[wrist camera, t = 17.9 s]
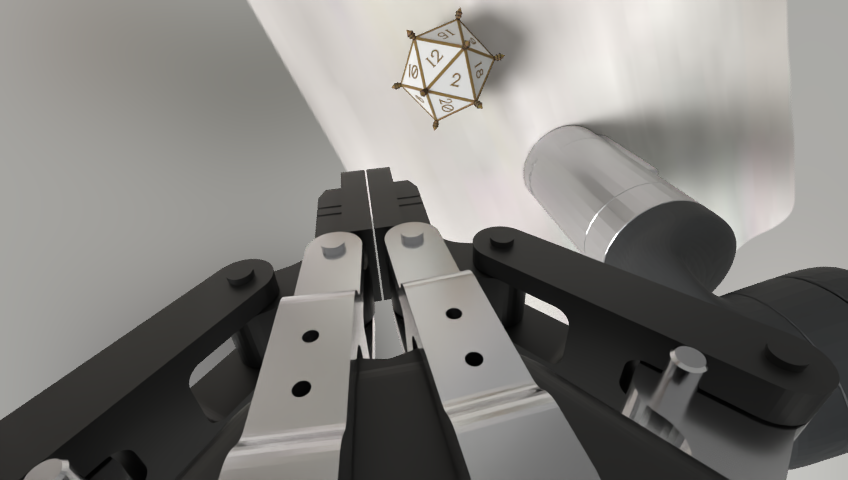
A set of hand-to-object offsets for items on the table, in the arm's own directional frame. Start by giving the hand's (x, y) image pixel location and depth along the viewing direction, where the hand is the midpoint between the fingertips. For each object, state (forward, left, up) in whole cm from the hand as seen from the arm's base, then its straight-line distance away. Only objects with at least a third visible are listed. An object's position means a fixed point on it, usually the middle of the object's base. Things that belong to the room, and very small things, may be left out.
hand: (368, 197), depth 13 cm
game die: (-8, +2, -29) cm, 30 cm away
